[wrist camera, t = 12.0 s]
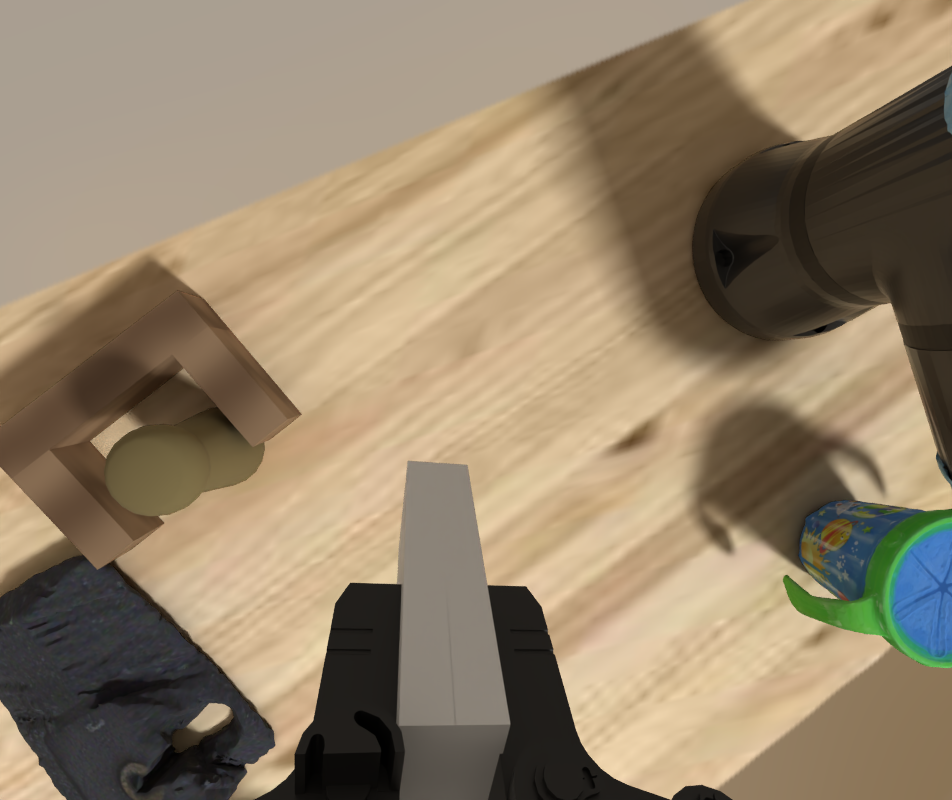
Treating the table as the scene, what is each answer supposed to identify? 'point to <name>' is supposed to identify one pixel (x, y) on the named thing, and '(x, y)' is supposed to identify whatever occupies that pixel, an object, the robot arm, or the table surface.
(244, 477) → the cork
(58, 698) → the dark slate chunk
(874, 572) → the snack cup
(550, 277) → the table surface
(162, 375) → the walnut pocket
